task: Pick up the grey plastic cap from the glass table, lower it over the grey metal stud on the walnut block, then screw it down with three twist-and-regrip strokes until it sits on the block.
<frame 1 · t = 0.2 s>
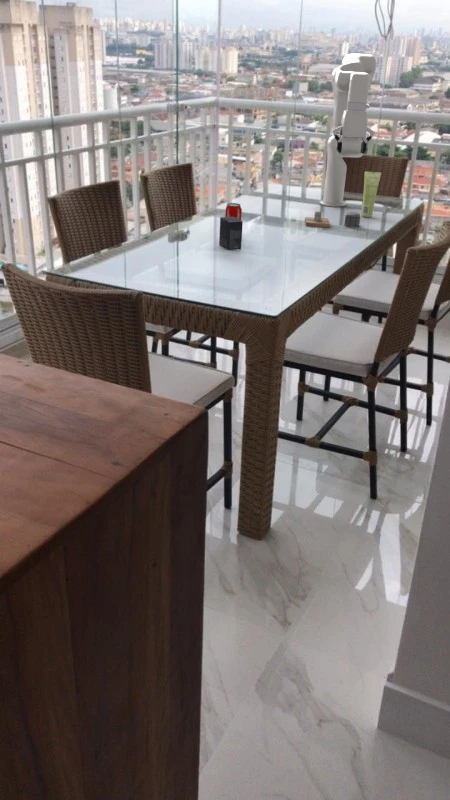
hand: (350, 152, 285), 30 cm above the table, tool pointing down, fingers open, 9 cm apart
soda can: (232, 235, 277), on the table
cap: (351, 225, 301), on the table
box: (229, 247, 261), on the table
tube: (366, 216, 319), on the table
stud block: (316, 223, 301), on the table
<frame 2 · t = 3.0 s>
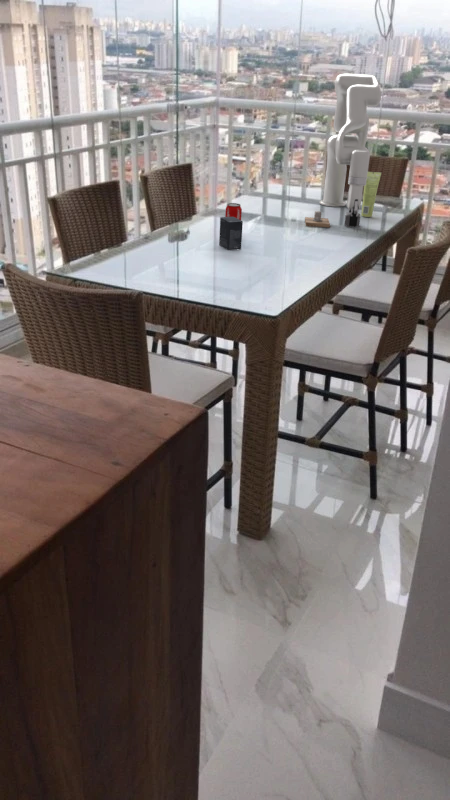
hand: (351, 223, 301), 1 cm above the table, tool pointing down, fingers closed on cap, 6 cm apart
cap: (351, 225, 301), on the table, touching gripper
everything else where it was.
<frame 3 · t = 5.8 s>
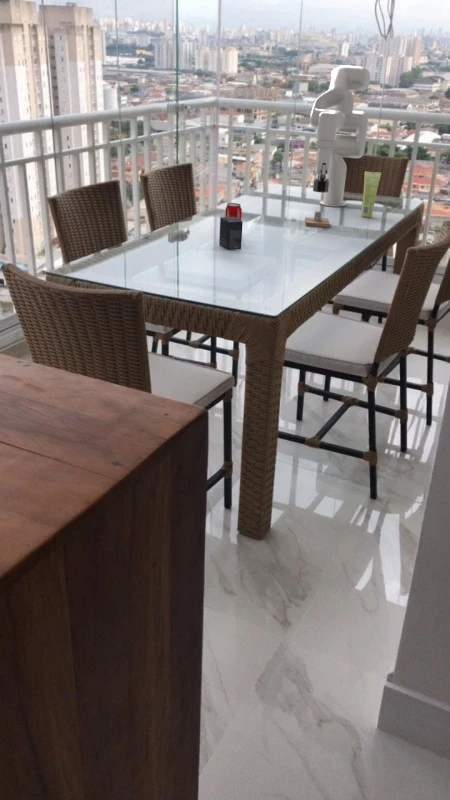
hand: (320, 189, 294), 15 cm above the table, tool pointing down, fingers closed on cap, 6 cm apart
cap: (320, 191, 294), point 14 cm above the table, touching gripper
everything else where it was.
when the fingers open (3 cm above the table, at t = 8.7 s): cap stays where it is, resting on stud block.
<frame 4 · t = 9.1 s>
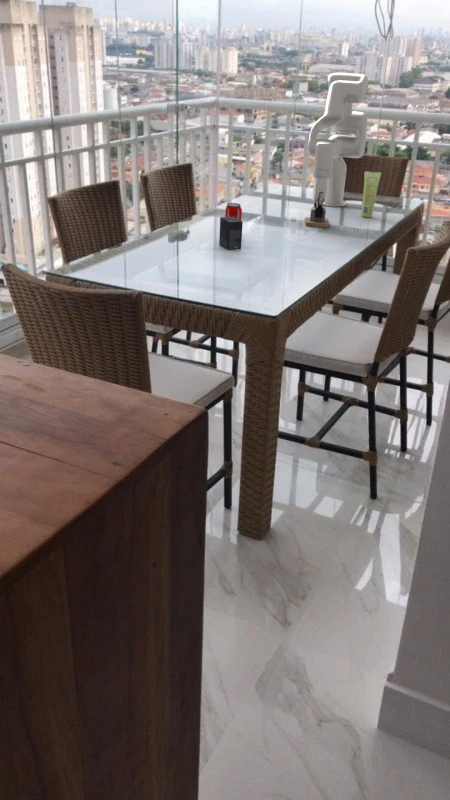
hand: (317, 214, 299), 4 cm above the table, tool pointing down, fingers open, 9 cm apart
cap: (317, 220, 300), point 1 cm above the table, touching stud block
everything else where it was.
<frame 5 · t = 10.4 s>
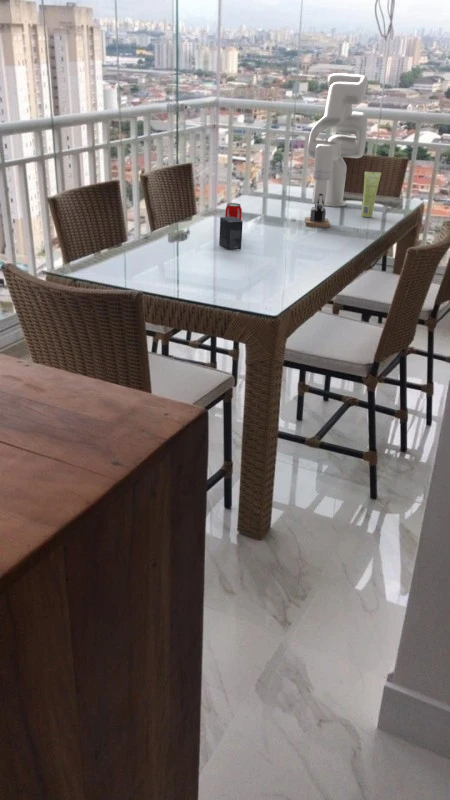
hand: (317, 218, 300), 2 cm above the table, tool pointing down, fingers closed on cap, 6 cm apart
cap: (317, 220, 300), point 2 cm above the table, touching gripper, stud block
everything else where it was.
when the fingers open (2 cm above the table, at t = 14.5 s): cap stays where it is, resting on stud block.
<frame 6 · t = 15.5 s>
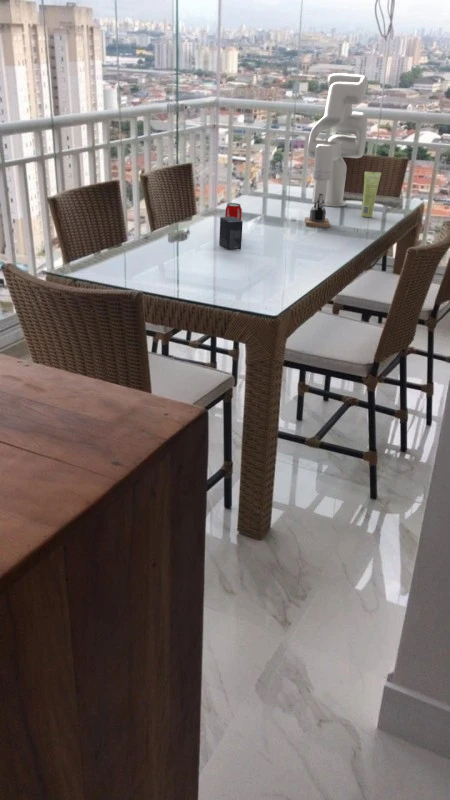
hand: (317, 217, 300), 3 cm above the table, tool pointing down, fingers open, 8 cm apart
cap: (317, 220, 300), point 1 cm above the table, touching stud block
everything else where it was.
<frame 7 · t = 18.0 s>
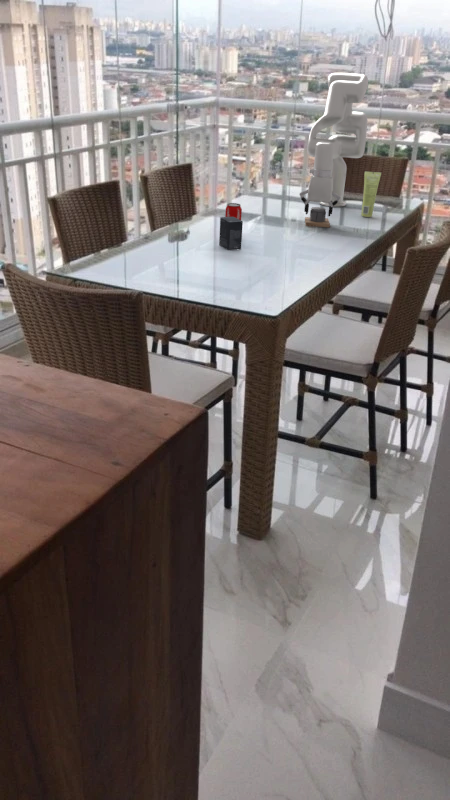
hand: (318, 214, 299), 4 cm above the table, tool pointing down, fingers open, 9 cm apart
nothing on the table moved.
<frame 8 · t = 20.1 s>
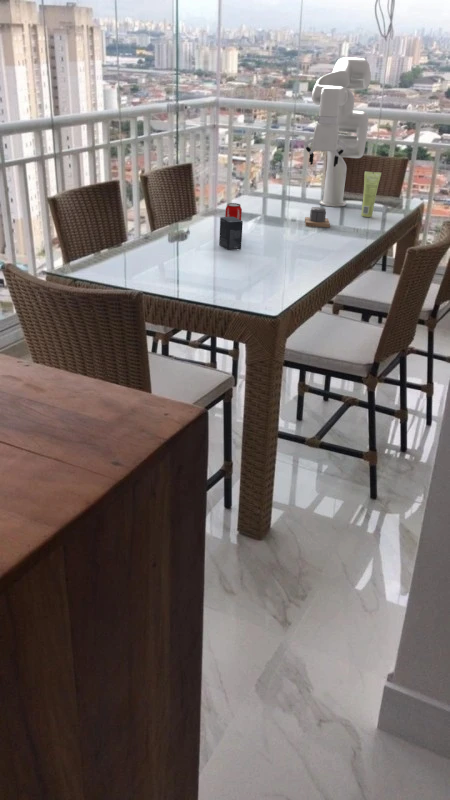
hand: (323, 165, 290), 24 cm above the table, tool pointing down, fingers open, 9 cm apart
nothing on the table moved.
at the end: cap 0.0 cm off-centre on the stud block, point 1.5 cm above the stud block's base; cap tilted 0°; the gripper is holding nothing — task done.
